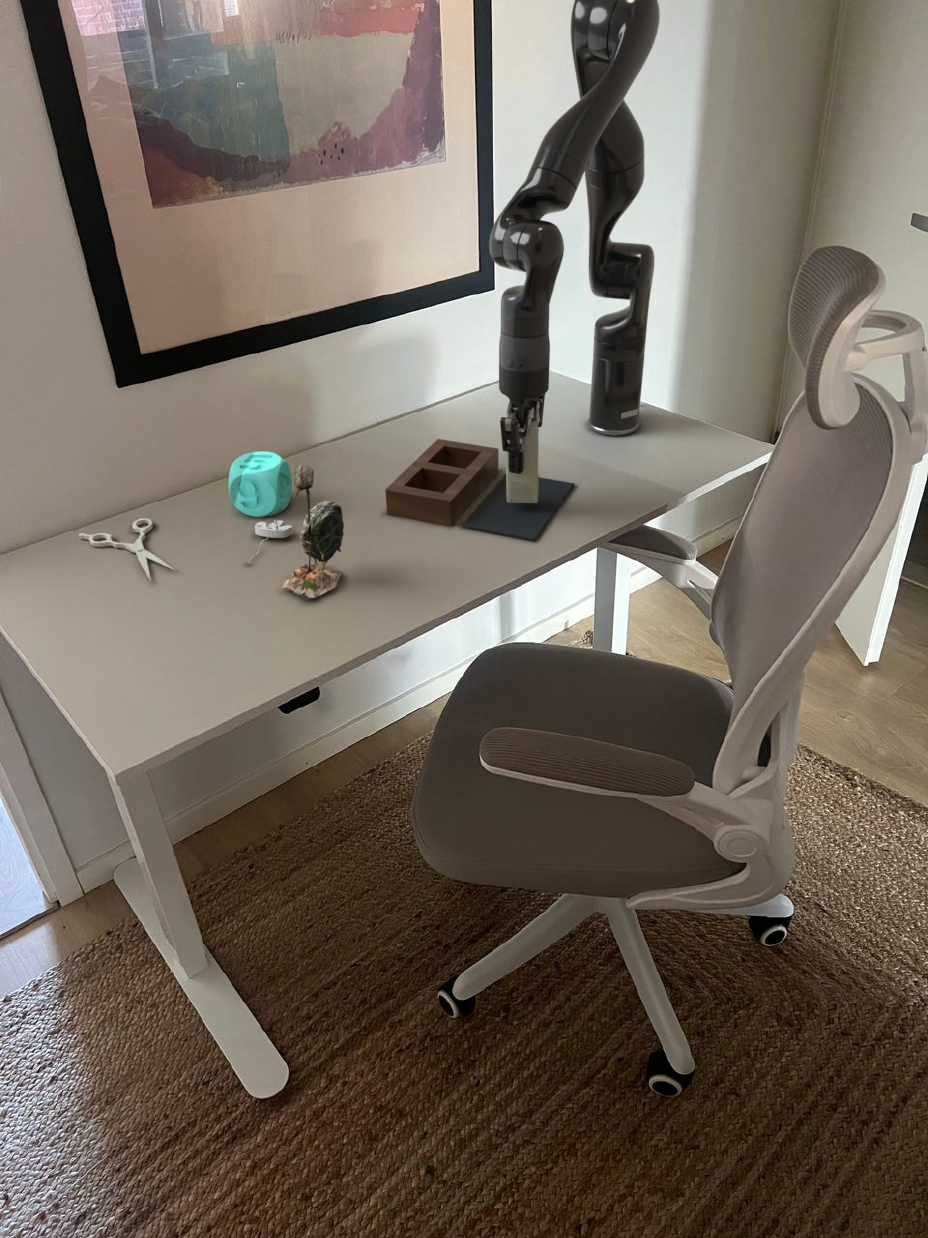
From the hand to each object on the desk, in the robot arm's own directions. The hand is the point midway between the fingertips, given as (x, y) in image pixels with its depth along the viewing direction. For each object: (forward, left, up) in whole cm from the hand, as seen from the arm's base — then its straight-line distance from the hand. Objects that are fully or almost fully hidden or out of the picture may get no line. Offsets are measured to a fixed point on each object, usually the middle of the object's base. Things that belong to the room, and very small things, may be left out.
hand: (522, 464), depth 156 cm
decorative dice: (+14, -40, -8) cm, 43 cm away
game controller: (+25, -33, -8) cm, 42 cm away
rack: (-1, -14, -8) cm, 16 cm away
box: (0, 0, -6) cm, 6 cm away
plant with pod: (+31, -20, -8) cm, 38 cm away
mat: (-1, -1, -8) cm, 8 cm away
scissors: (+34, -50, -8) cm, 61 cm away
